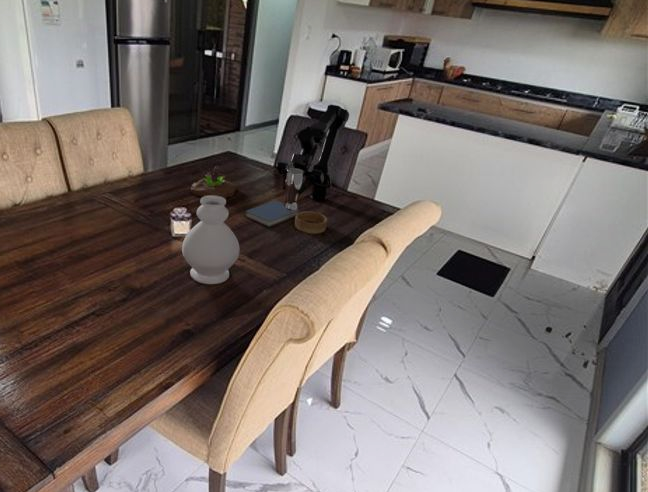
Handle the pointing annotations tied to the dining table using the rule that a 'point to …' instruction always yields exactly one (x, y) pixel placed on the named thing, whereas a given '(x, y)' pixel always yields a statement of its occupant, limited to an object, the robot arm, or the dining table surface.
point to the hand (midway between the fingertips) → (291, 191)
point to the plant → (214, 186)
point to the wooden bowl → (309, 216)
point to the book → (270, 213)
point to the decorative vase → (211, 243)
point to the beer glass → (293, 188)
